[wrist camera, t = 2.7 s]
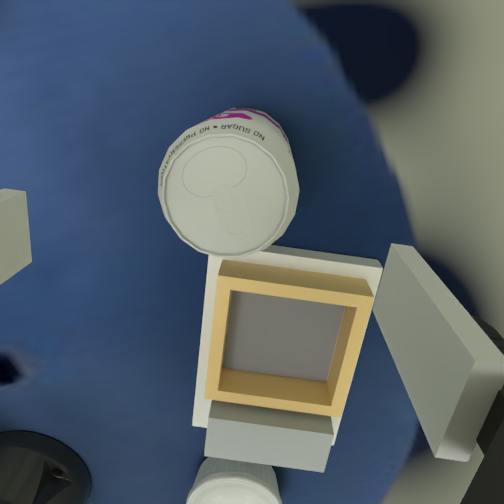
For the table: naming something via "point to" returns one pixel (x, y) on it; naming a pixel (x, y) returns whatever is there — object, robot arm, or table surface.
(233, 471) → the ramekin
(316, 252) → the tan-rimmed shallow tray
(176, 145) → the supplement can
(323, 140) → the table surface
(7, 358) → the table surface
